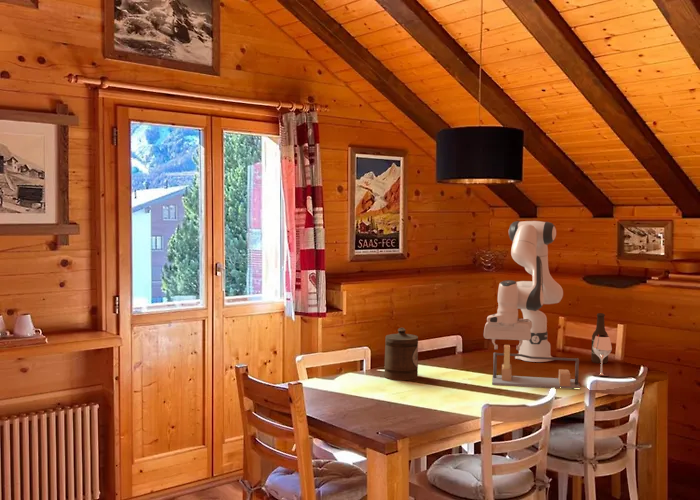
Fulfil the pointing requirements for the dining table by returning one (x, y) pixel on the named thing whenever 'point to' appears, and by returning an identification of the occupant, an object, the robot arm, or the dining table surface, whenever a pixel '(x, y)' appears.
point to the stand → (535, 378)
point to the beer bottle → (599, 331)
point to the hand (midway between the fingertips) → (506, 349)
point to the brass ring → (506, 356)
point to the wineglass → (602, 348)
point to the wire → (540, 357)
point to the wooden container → (401, 356)
